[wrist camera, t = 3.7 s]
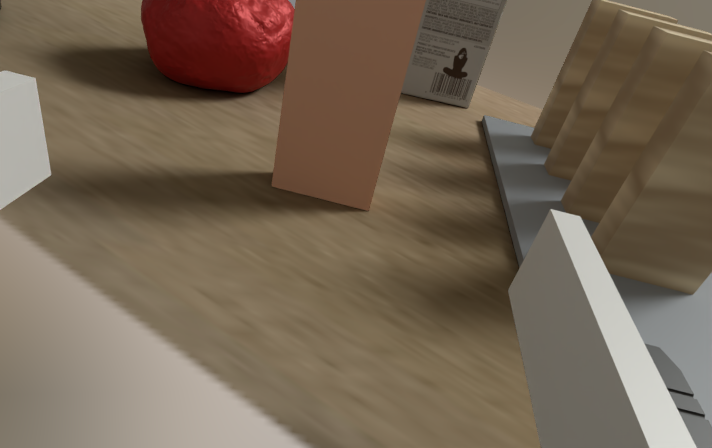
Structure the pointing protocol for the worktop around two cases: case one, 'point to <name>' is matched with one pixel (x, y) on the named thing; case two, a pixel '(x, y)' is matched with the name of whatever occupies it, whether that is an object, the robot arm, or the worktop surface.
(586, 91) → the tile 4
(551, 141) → the wooden block
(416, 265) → the worktop surface
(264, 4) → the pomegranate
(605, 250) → the tile
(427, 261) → the worktop surface
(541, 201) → the slate board
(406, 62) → the tile
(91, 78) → the worktop surface
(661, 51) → the tile
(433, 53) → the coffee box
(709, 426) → the robot arm
